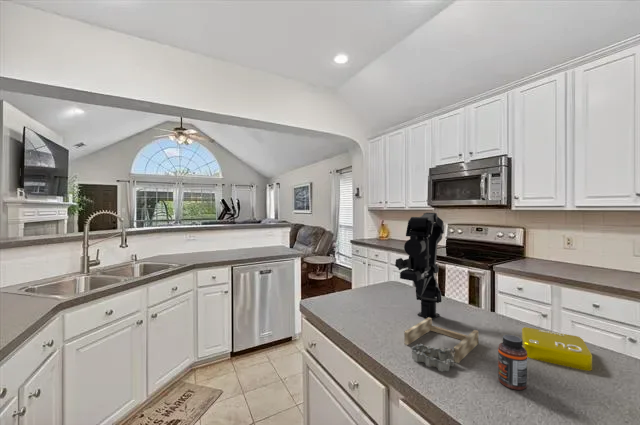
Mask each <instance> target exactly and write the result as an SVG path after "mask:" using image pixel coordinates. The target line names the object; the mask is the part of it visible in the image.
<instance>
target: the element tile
mask: <svg viewBox="0 0 640 425" xmlns="http://www.w3.org/2000/svg"><path fill="white" fill-rule="evenodd" d="M521 339H522V344H523V345H522V347H524V348H525V349H526V351H527V359H528V358H529V359H531V360H535V361H540V362H545V363H549V364H554V365H558V366H562V367H568V368H572V369H576V370H577V369H578V370H581V371H586V372H587V371H588V372H590V371H592V370H593V355H592V352H591V351H590V349H589V348H588V346H587V344H586V343H585V342H586V341H584V339H583V338H582V337H581V336H577V335H573V334H567V333H561V332H554V331H549V330H544V329H538V328H531V327H527V326H525V327H522V328H521Z"/></svg>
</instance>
